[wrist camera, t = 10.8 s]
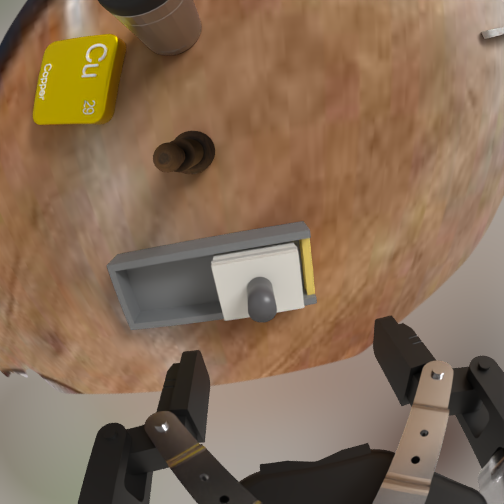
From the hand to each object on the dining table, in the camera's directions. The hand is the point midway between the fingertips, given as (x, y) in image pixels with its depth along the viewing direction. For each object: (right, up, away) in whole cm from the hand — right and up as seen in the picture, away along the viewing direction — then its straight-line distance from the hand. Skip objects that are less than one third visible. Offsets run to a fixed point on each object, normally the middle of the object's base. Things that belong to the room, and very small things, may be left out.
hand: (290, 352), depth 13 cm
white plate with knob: (-1, +2, +37) cm, 37 cm away
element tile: (-30, +33, +26) cm, 52 cm away
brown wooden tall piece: (-11, +20, +31) cm, 38 cm away
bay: (-8, +1, +38) cm, 39 cm away
